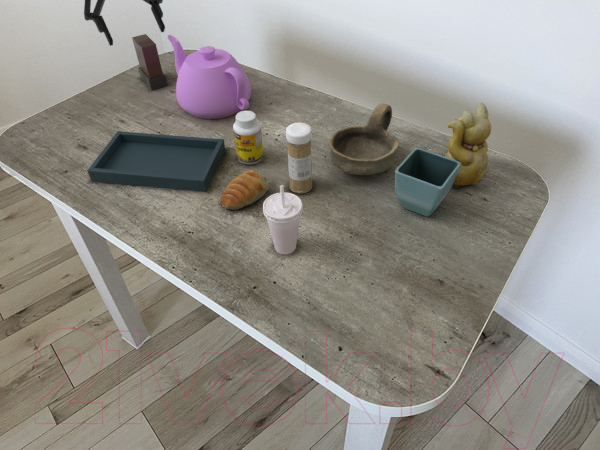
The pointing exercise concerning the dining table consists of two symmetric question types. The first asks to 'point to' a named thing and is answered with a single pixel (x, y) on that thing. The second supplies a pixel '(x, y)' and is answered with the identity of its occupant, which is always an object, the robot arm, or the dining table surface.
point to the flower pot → (424, 180)
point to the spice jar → (299, 157)
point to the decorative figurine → (470, 145)
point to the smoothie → (283, 219)
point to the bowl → (365, 145)
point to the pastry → (244, 190)
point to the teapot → (210, 82)
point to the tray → (158, 161)
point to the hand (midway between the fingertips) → (138, 36)
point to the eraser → (149, 62)
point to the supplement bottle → (248, 138)
